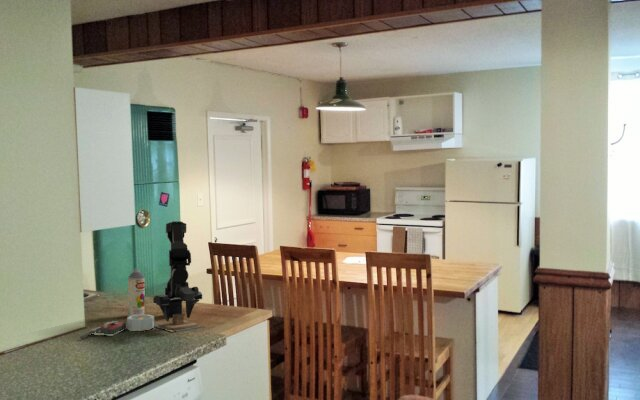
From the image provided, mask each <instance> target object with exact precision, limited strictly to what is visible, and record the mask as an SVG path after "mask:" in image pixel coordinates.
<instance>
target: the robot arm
mask: <svg viewBox="0 0 640 400" xmlns="http://www.w3.org/2000/svg"><path fill="white" fill-rule="evenodd" d="M186 233H187V223H185V222H183V221H180V220H179V221H178V220H177V221H174V220H173V221H171V222H168V223H165V234H166V235H167V236H166V237H167V239H168V241H169V242H170V250H169V249H168V266H169V267H170V270H169V271H170V273H169V274H170V277H169V279H168V281H167V282H166V287H164V294H156V295H154V296H153V302H152V303H153V304H156V306H159V308H160V310H161V312H162V313H163V316H164V318H165V320H166V321H165V322H169V321H170V317H171V318H173V314H183V315H184V316H185V313H186V318H187V319H189V318H190V317H191V314H192V311H193V309H194V307H195V305H196V304H198V302H200V300H203V293H202V292H201V291H199V287H198V286H192V287H190V286H189V282H187V280H188V278H189V273H188V270H187V266H188V267H189V266H190V265H191V264H192V253H191V252H190V251H191V250H190V249H188V245H187V244H186V243H185V241H184V238H185V234H186ZM183 302H185V313H183Z"/></svg>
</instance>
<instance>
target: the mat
mask: <svg viewBox="0 0 640 400" xmlns="http://www.w3.org/2000/svg"><path fill="white" fill-rule="evenodd" d="M156 327H157V328H156ZM154 328H156V329H159V328H162V329H166V328H163V327H160V326H158V324H157V325H154ZM200 328H201V329H202V328H203V327H202V326H201V325H198V327H192V328H187V329H181V330H176V331H180V332H185V331H191V330H195V329H200ZM162 329H161V330H162ZM167 330H169V329H167Z"/></svg>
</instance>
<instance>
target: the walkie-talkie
mask: <svg viewBox="0 0 640 400" xmlns="http://www.w3.org/2000/svg"><path fill="white" fill-rule="evenodd" d="M125 328H126V329H127V322H124V321H118V320H112V321H107V322H105V323H103V324H102V326H98V327H97V326H96V327H95V328H93V329H92V328H91V329H90V330H89V331H90V332H89V333H86V334H83V335H81V336H80V339H81V338H83V339H85V338H84V337H86V336H88V335H90V334H92V333H95V332H96V333H104V334H114V333H116V332H118V331H121V330H123V329H125ZM90 336H91V335H90ZM88 337H89V336H88ZM86 338H87V337H86Z"/></svg>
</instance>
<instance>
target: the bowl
mask: <svg viewBox="0 0 640 400" xmlns="http://www.w3.org/2000/svg"><path fill="white" fill-rule="evenodd" d="M138 318H143V319H138ZM154 326H155V316H154V315H151V314H144V315H133V316H129V317H127V318H126V330H127V329H130V330H143V329H151V328H153V329H154V328H155V327H154Z"/></svg>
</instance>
